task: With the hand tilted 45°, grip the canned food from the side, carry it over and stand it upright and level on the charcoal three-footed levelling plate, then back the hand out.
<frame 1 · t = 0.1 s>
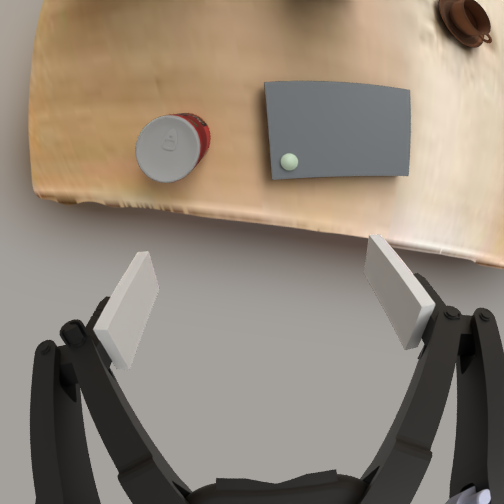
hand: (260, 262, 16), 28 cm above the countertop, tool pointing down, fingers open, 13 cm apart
cup and saucer: (457, 20, 25), on the countertop
canned food: (186, 138, 39), on the countertop
levelling plate: (339, 127, 38), on the countertop
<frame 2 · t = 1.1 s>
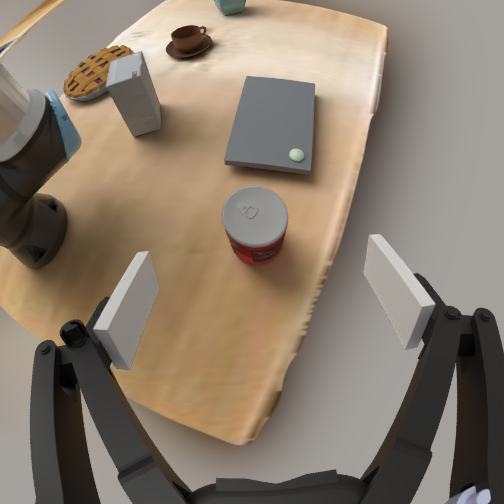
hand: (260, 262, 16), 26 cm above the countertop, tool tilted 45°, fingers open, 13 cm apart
skincare box: (149, 120, 51), on the countertop
flower pot: (230, 12, 63), on the countertop
cup and saucer: (189, 49, 58), on the countertop
canned food: (256, 241, 44), on the countertop
levelling plate: (274, 125, 49), on the countertop
pie: (101, 78, 57), on the countertop
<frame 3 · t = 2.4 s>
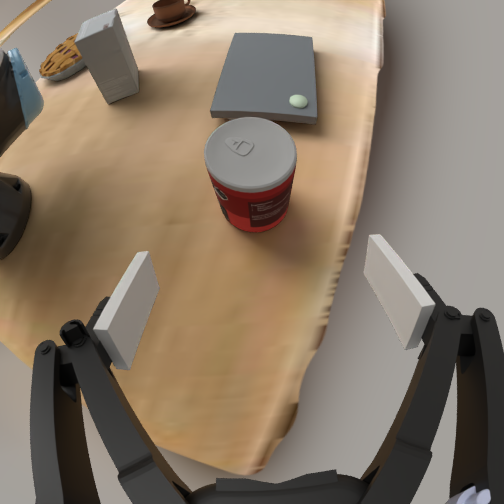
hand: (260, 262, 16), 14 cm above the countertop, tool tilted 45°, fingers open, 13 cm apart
skincare box: (125, 86, 41), on the countertop
cup and saucer: (172, 20, 48), on the countertop
canned food: (254, 204, 33), on the countertop
levelling plate: (269, 78, 39), on the countertop
pie: (79, 57, 47), on the countertop
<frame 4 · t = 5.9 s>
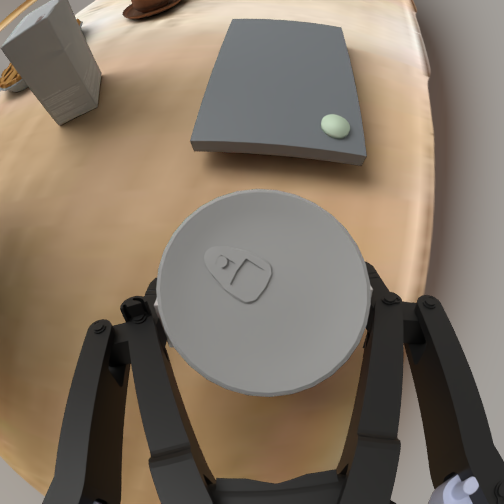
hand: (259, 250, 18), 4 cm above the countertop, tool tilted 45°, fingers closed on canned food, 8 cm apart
skincare box: (83, 99, 28), on the countertop
cup and saucer: (154, 10, 35), on the countertop
canned food: (263, 308, 20), on the countertop, touching gripper
levelling plate: (283, 84, 26), on the countertop
pie: (44, 61, 34), on the countertop
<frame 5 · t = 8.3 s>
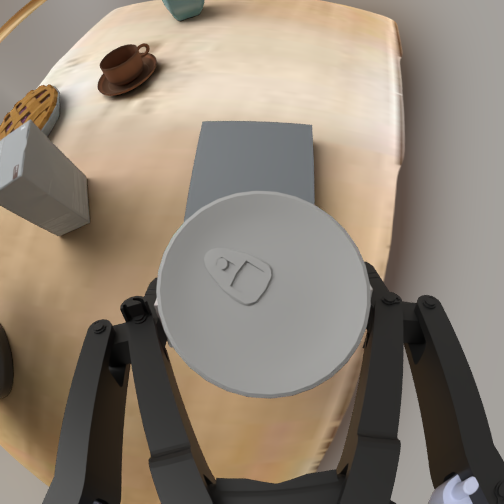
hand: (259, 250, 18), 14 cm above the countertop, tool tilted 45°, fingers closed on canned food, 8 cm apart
skincare box: (75, 207, 35), on the countertop
flower pot: (186, 16, 47), on the countertop
cup and saucer: (129, 79, 41), on the countertop
canned food: (263, 309, 20), point 10 cm above the countertop, touching gripper
levelling plate: (251, 209, 33), on the countertop
pie: (28, 133, 41), on the countertop
when the fingers open (8 cm above the countertop, at t = 10.6 s): canned food drops 1 cm, resting on levelling plate.
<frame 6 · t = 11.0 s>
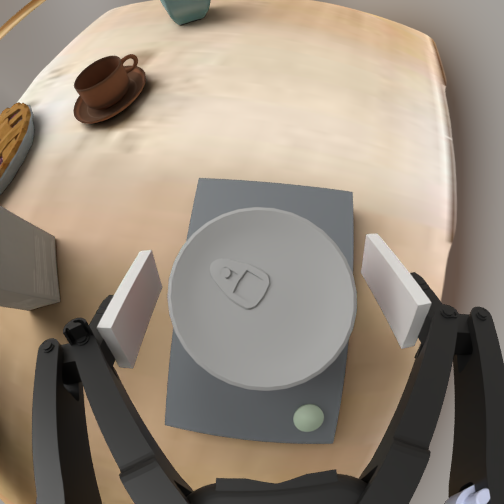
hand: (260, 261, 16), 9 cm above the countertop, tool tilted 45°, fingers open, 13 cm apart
skincare box: (44, 275, 26), on the countertop
flower pot: (189, 19, 39), on the countertop
cup and saucer: (113, 100, 33), on the countertop
canned food: (262, 311, 22), point 3 cm above the countertop, touching levelling plate
levelling plate: (263, 311, 24), on the countertop
pie: (2, 161, 33), on the countertop
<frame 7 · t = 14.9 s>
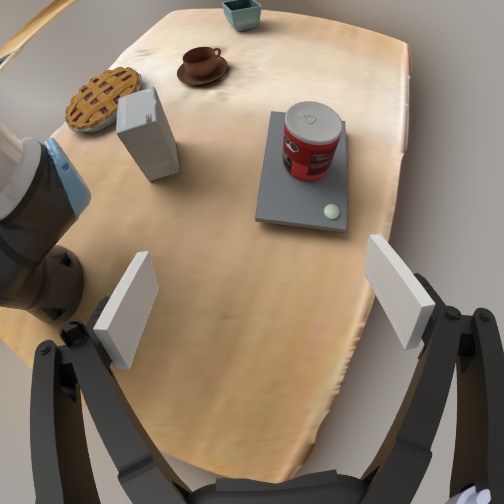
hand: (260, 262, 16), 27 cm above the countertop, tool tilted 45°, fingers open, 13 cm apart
skincare box: (164, 161, 50), on the countertop
flower pot: (243, 27, 62), on the countertop
cup and saucer: (203, 74, 56), on the countertop
canned food: (305, 163, 45), point 3 cm above the countertop, touching levelling plate
levelling plate: (304, 171, 47), on the countertop
pie: (106, 104, 57), on the countertop
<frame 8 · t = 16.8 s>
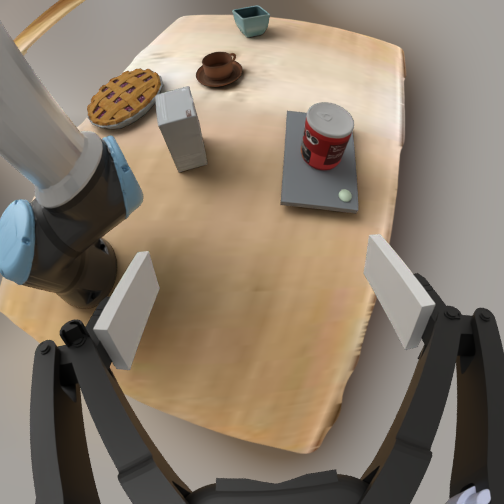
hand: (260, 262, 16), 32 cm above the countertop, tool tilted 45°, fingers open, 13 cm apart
skincare box: (192, 154, 56), on the countertop
flower pot: (252, 34, 68), on the countertop
cup and saucer: (219, 77, 62), on the countertop
canned food: (320, 155, 51), point 3 cm above the countertop, touching levelling plate
levelling plate: (318, 162, 54), on the countertop
pie: (127, 103, 62), on the countertop
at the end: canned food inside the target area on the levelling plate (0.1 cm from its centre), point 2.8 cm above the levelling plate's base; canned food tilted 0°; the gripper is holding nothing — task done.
